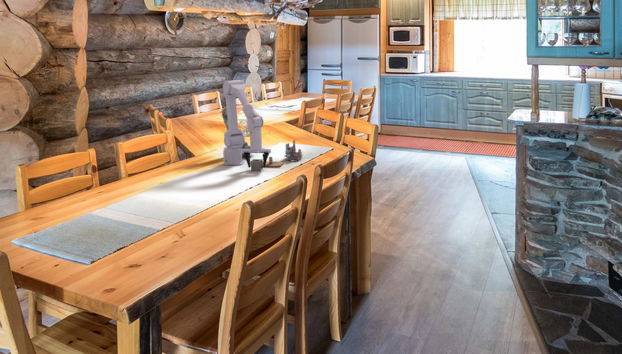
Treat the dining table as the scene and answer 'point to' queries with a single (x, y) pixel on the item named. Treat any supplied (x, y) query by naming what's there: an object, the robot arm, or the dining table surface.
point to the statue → (225, 118)
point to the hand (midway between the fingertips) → (256, 167)
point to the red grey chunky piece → (293, 152)
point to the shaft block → (273, 163)
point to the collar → (256, 164)
